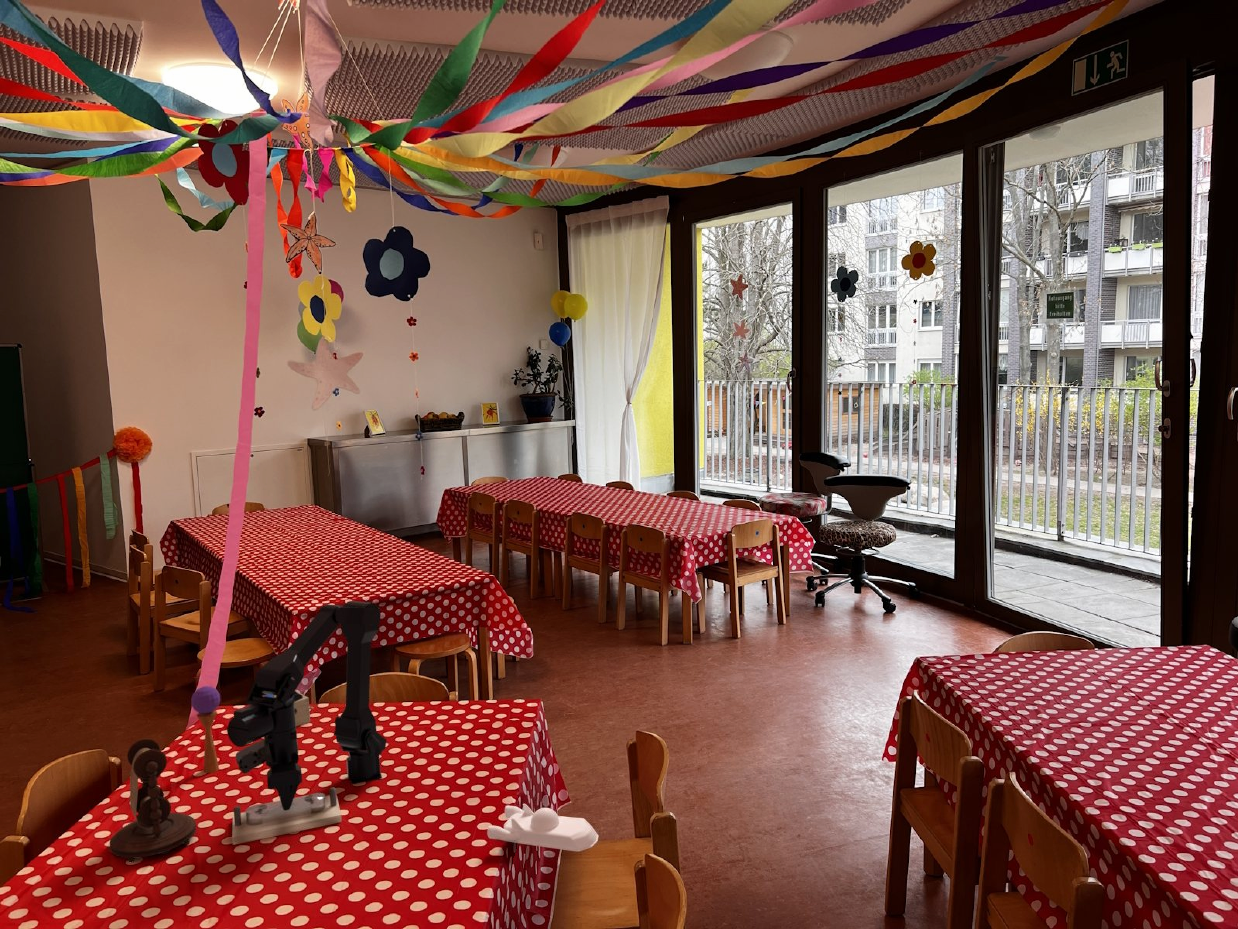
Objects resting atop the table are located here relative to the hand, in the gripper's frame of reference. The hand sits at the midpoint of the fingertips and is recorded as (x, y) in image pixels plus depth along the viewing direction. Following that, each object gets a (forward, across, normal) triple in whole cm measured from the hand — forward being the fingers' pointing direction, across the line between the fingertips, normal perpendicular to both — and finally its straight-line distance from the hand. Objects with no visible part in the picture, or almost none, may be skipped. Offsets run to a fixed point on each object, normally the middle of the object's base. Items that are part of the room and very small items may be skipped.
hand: (286, 802), depth 179 cm
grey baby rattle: (+2, 0, 0) cm, 2 cm away
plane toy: (+4, +29, +45) cm, 54 cm away
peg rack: (+4, 0, 0) cm, 4 cm away
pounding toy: (+4, -60, +1) cm, 60 cm away
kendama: (+4, -33, -15) cm, 37 cm away
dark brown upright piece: (+4, -2, -24) cm, 24 cm away
